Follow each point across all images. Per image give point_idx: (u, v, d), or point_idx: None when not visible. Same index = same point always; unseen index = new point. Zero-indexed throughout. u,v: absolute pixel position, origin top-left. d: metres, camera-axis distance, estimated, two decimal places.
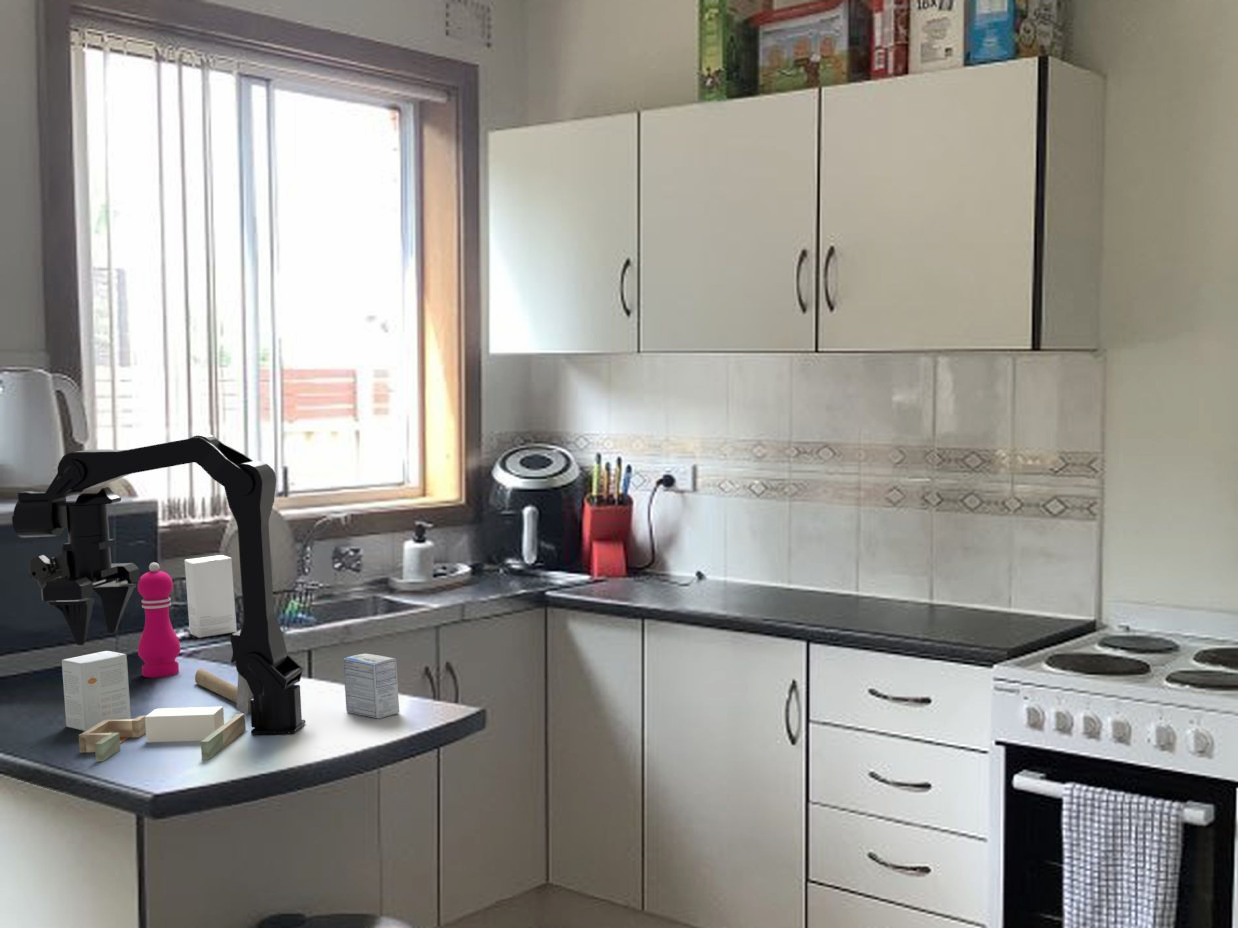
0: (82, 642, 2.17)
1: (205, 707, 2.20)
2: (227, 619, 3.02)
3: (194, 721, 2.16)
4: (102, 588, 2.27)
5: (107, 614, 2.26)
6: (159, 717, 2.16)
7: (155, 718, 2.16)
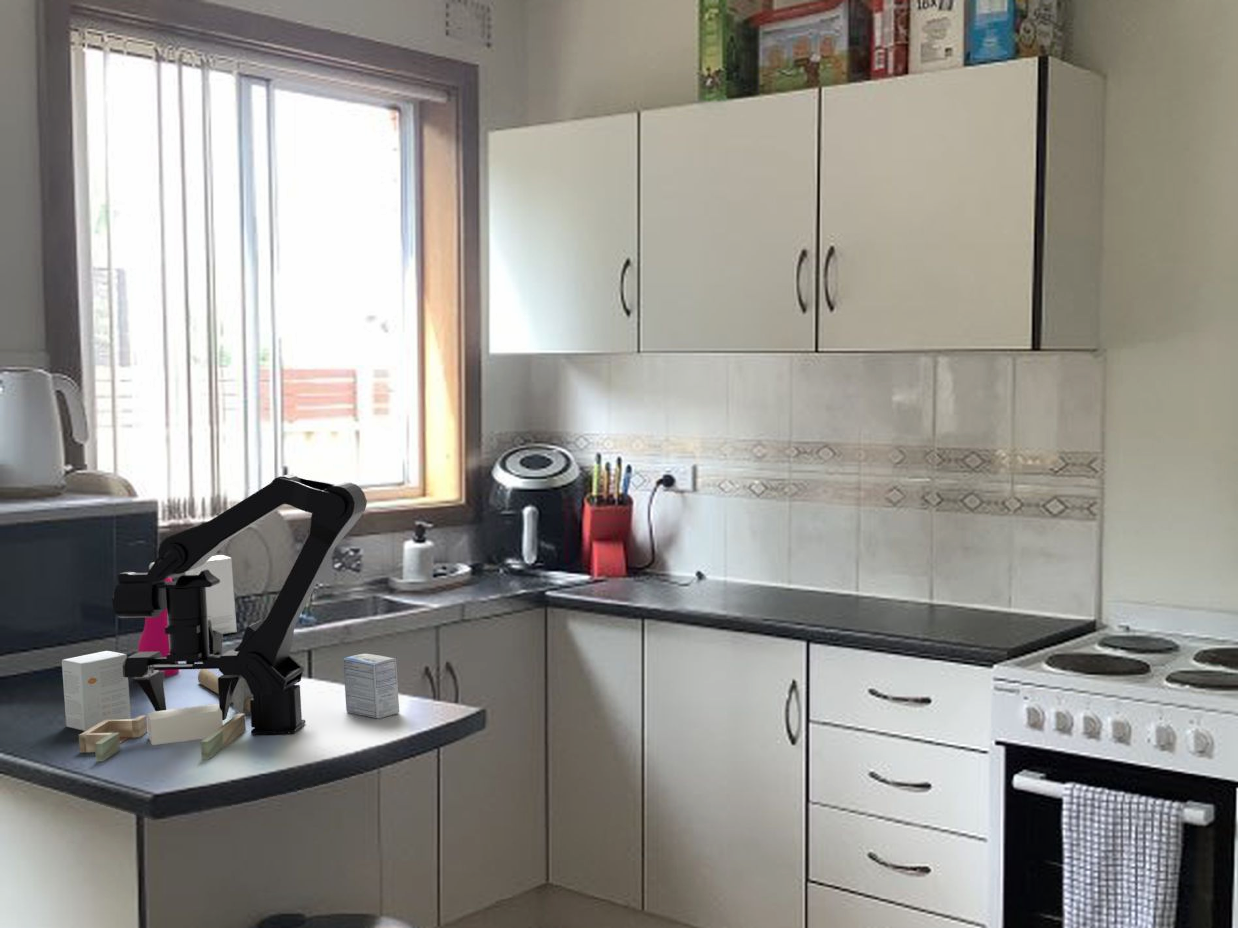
0: None
1: (199, 706, 2.21)
2: (227, 619, 3.02)
3: (202, 719, 2.17)
4: None
5: None
6: (166, 718, 2.15)
7: (161, 720, 2.14)
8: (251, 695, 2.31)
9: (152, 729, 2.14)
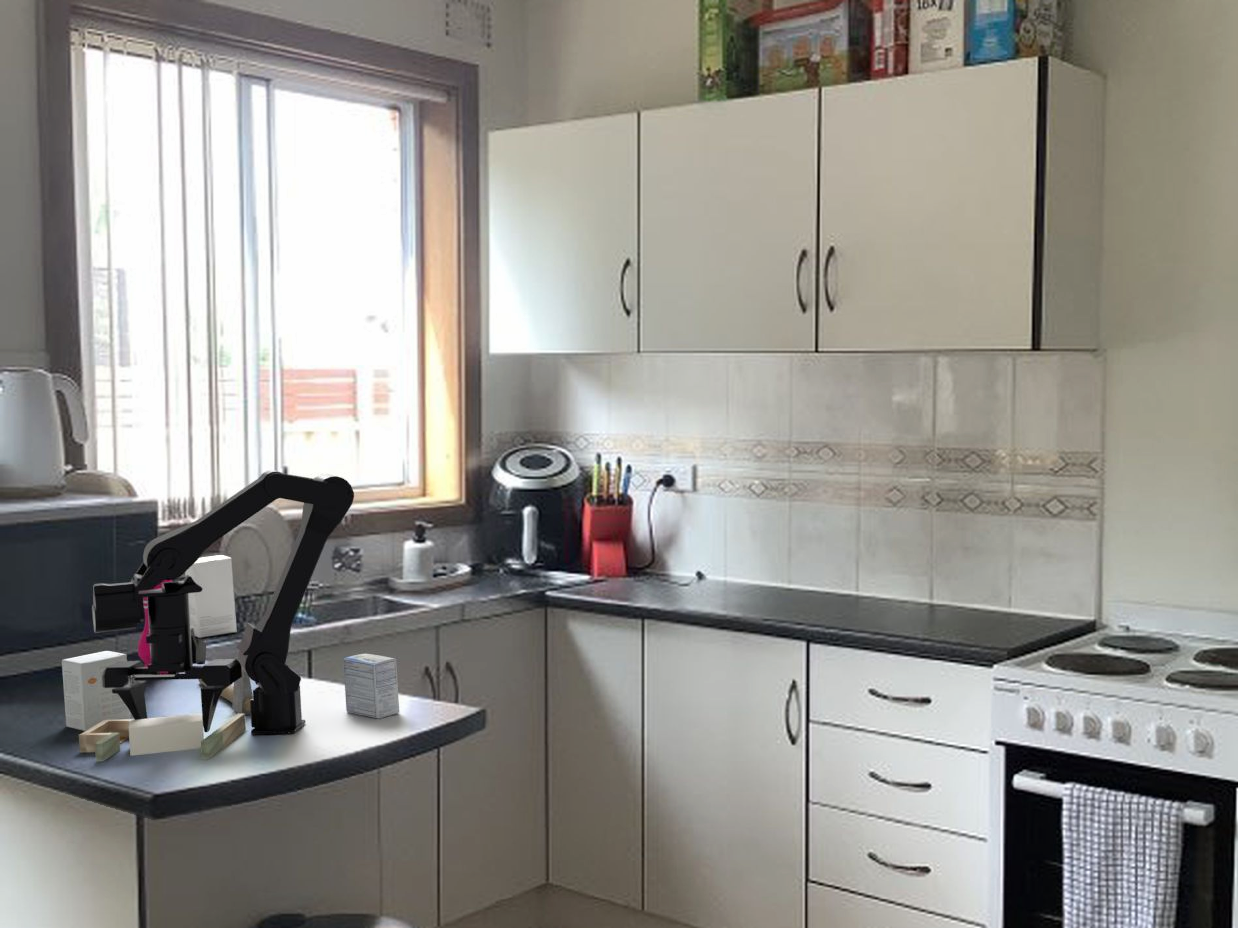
0: None
1: (183, 715, 2.15)
2: (227, 619, 3.02)
3: (182, 729, 2.11)
4: None
5: None
6: (144, 727, 2.09)
7: (139, 729, 2.09)
8: (250, 695, 2.31)
9: (130, 738, 2.08)
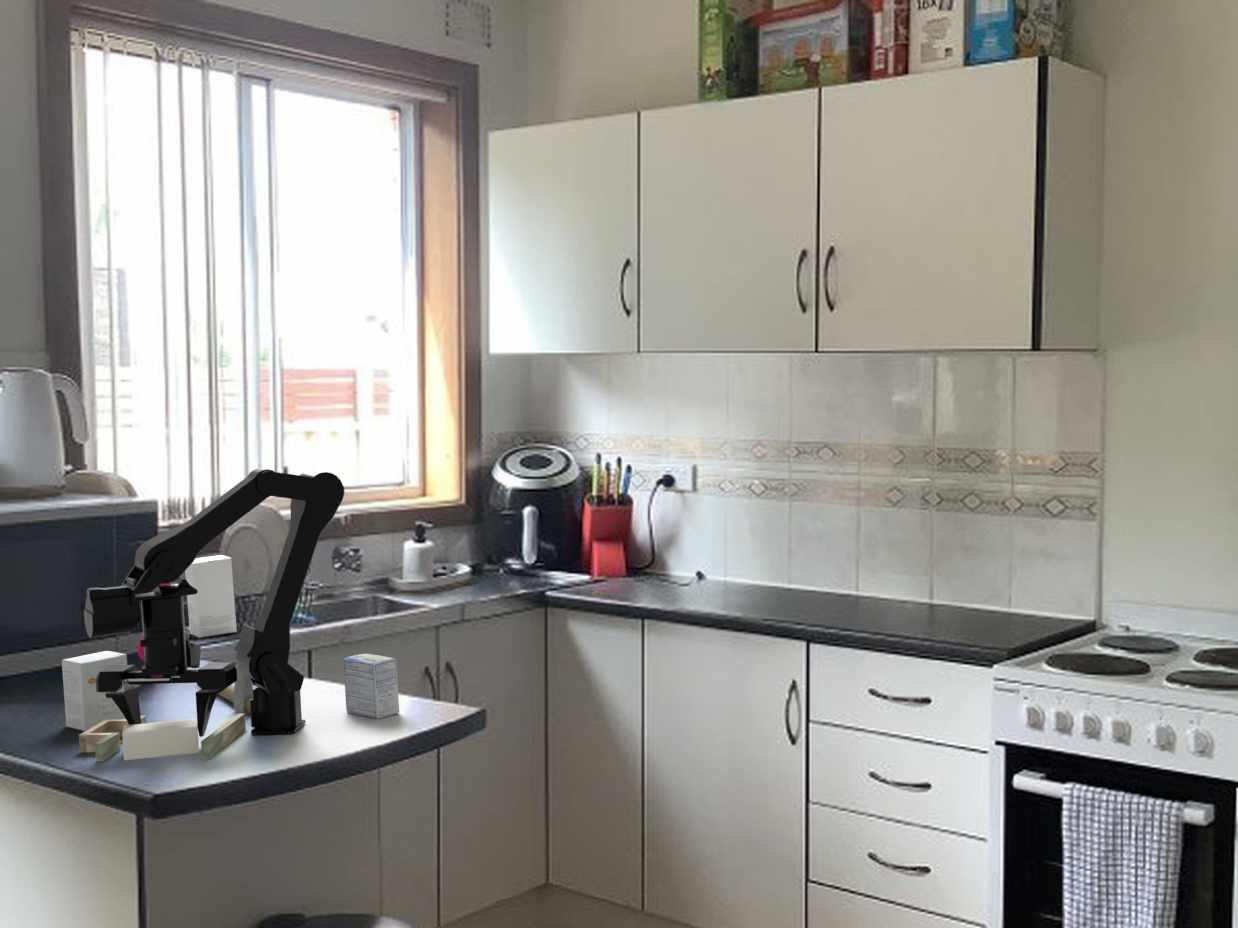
0: None
1: (179, 720, 2.12)
2: (227, 619, 3.02)
3: (176, 734, 2.08)
4: None
5: None
6: (138, 733, 2.07)
7: (133, 735, 2.06)
8: (251, 695, 2.31)
9: (124, 744, 2.06)
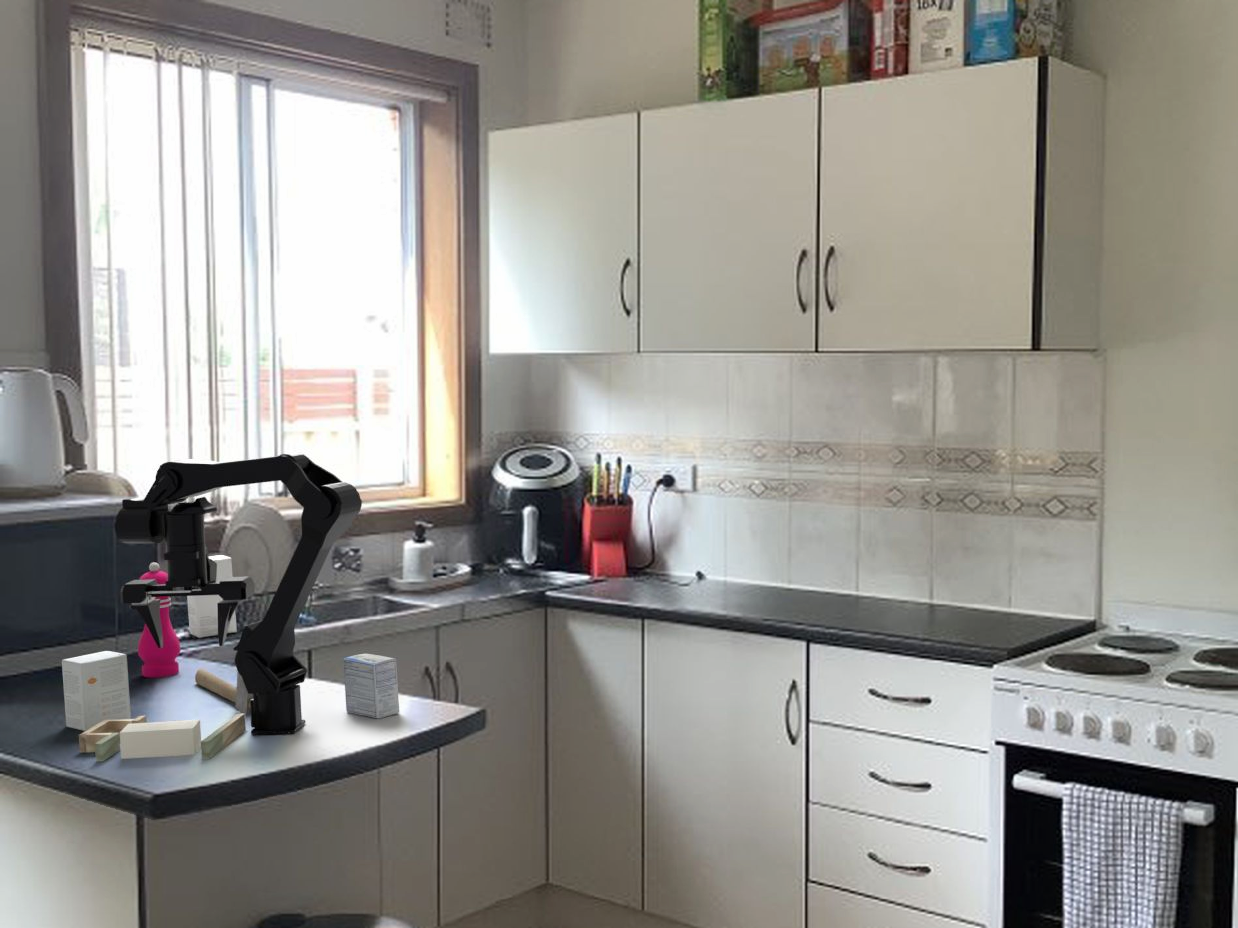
0: (157, 645, 2.23)
1: (181, 721, 2.12)
2: None
3: (172, 735, 2.07)
4: None
5: None
6: (135, 732, 2.07)
7: (130, 734, 2.07)
8: None
9: (121, 743, 2.07)
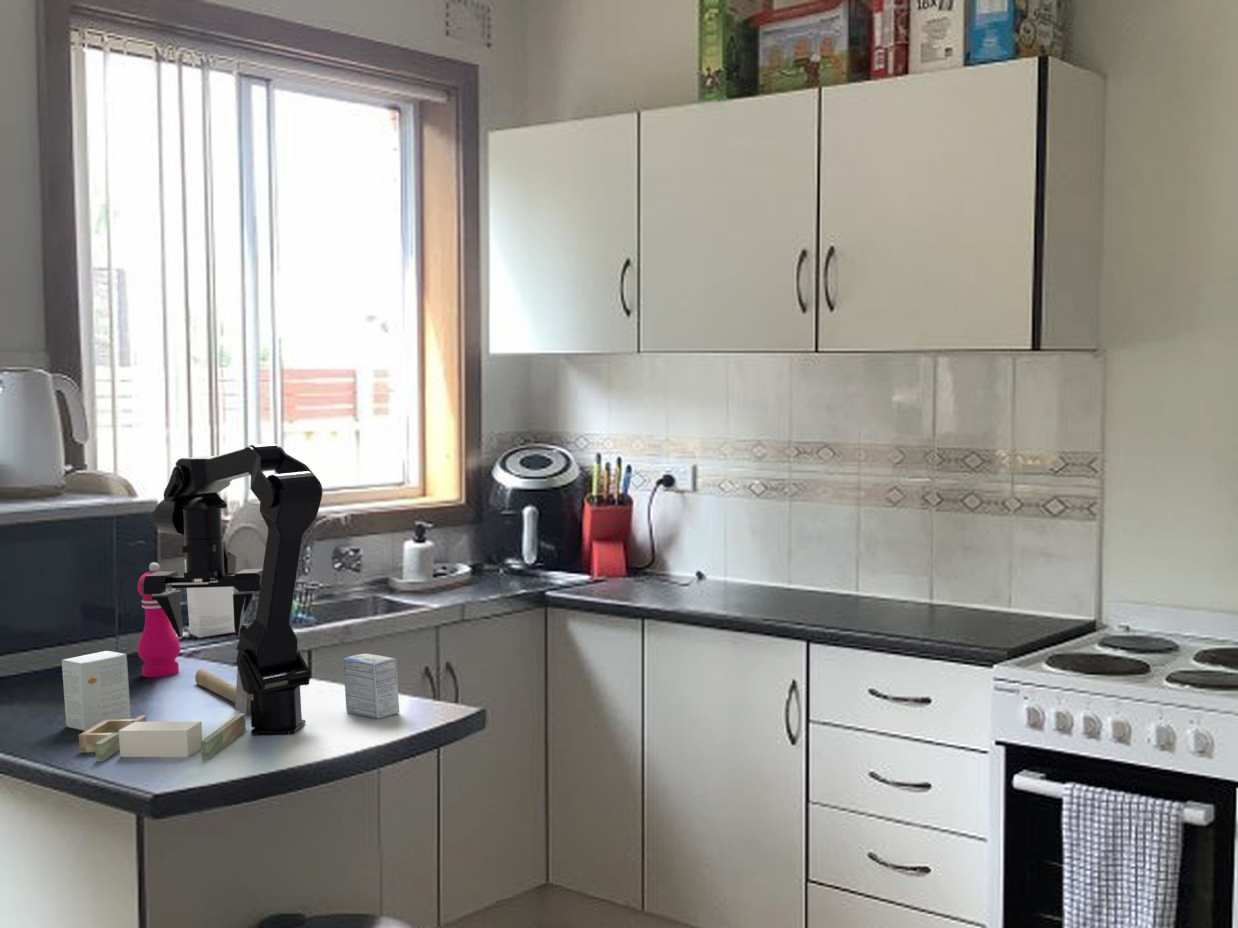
0: (177, 635, 2.32)
1: (183, 722, 2.11)
2: (227, 619, 3.02)
3: (167, 736, 2.07)
4: None
5: None
6: (132, 731, 2.08)
7: (128, 733, 2.08)
8: None
9: (120, 741, 2.08)
